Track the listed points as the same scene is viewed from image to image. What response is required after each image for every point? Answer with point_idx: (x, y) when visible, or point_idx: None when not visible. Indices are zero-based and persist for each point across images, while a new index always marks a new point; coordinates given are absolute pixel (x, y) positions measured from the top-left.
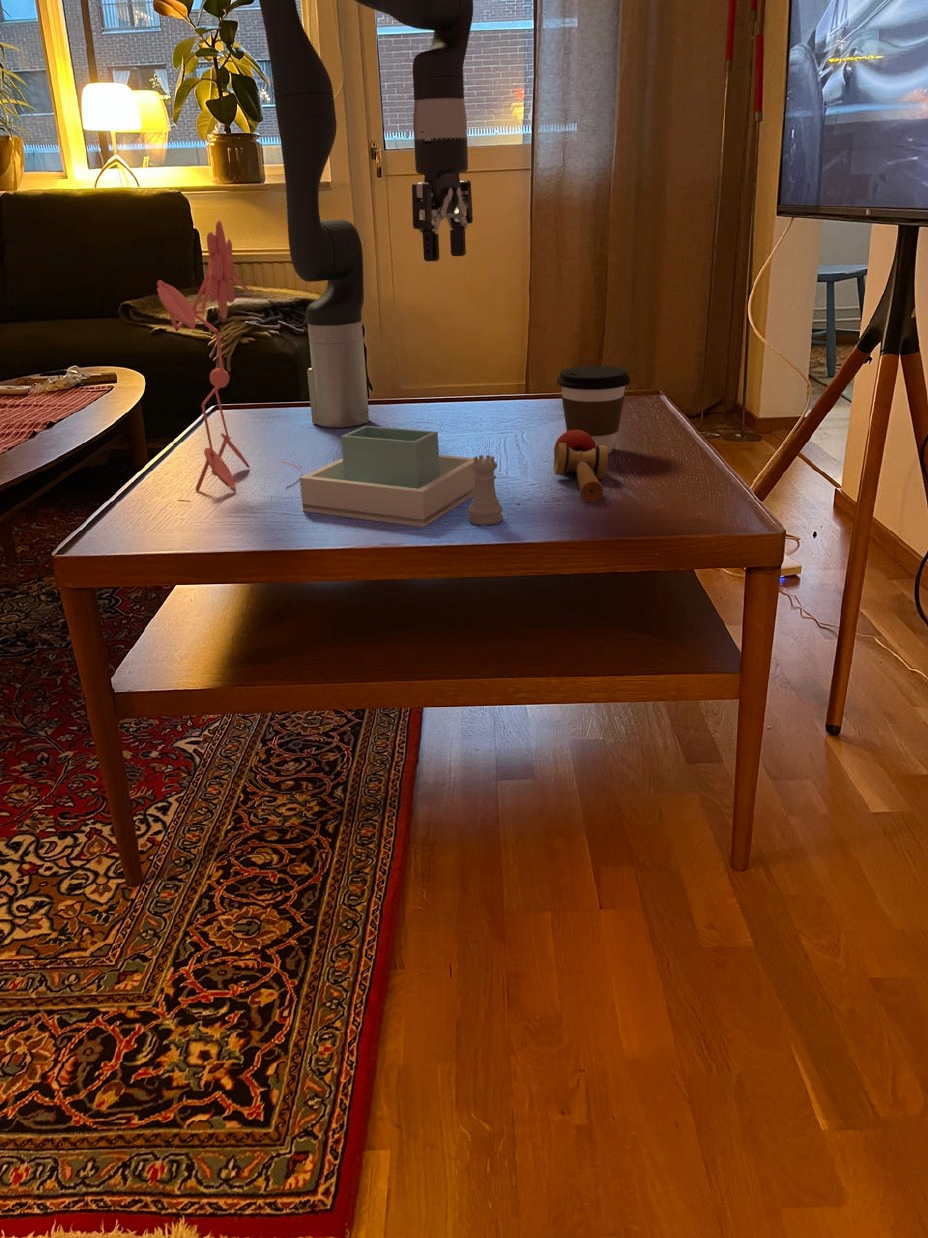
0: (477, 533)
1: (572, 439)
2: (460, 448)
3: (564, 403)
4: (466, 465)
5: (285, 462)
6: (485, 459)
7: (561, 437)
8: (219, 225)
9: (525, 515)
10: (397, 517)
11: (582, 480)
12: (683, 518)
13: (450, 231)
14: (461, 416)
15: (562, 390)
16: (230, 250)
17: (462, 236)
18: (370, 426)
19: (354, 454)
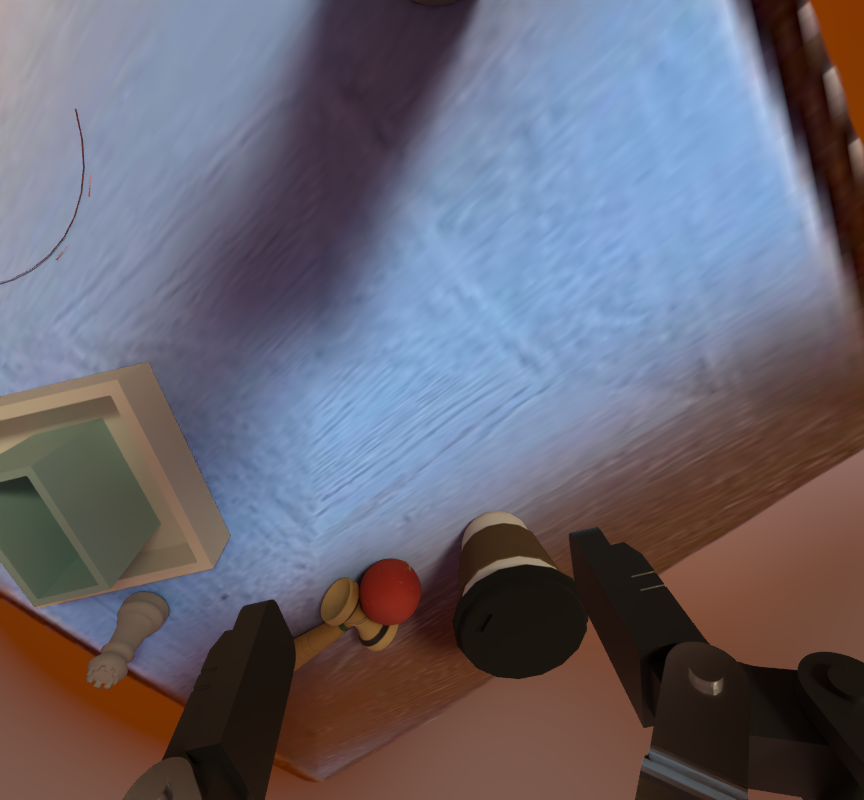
0: (109, 623)
1: (369, 616)
2: (395, 365)
3: (470, 569)
4: (173, 575)
5: (79, 128)
6: (107, 674)
7: (371, 599)
8: None
9: (198, 624)
10: None
11: None
12: (306, 725)
13: (631, 643)
14: (618, 186)
15: (477, 580)
16: None
17: (622, 678)
18: (36, 478)
19: None
